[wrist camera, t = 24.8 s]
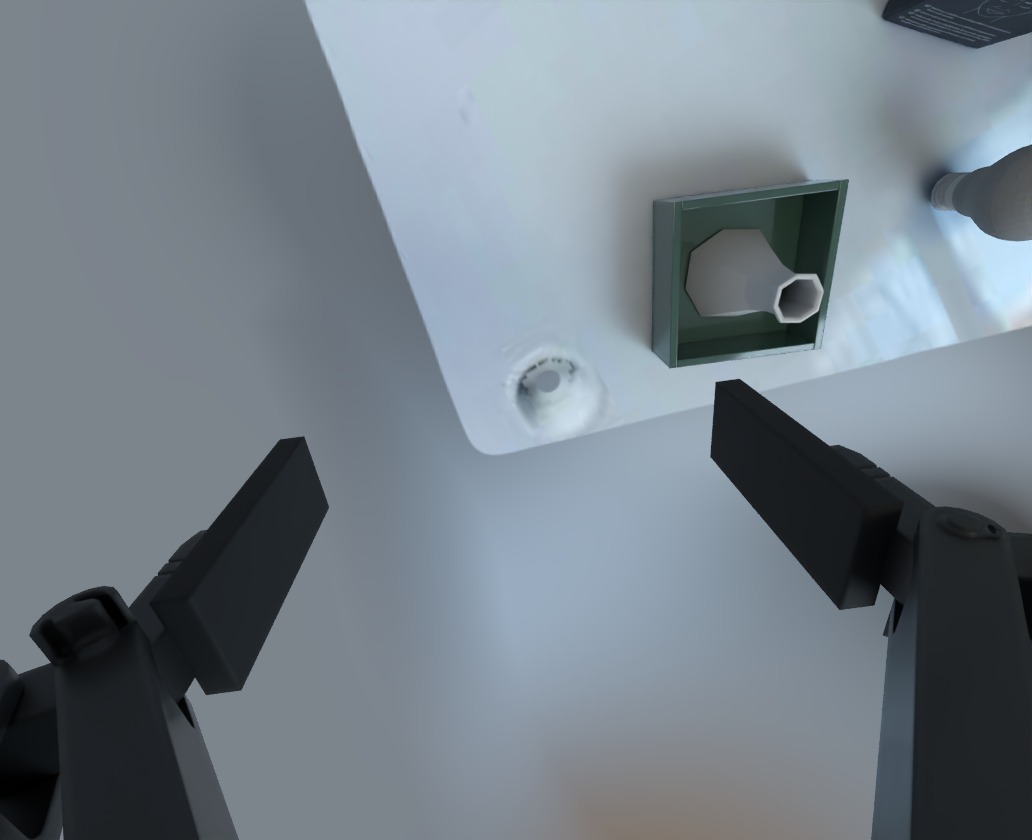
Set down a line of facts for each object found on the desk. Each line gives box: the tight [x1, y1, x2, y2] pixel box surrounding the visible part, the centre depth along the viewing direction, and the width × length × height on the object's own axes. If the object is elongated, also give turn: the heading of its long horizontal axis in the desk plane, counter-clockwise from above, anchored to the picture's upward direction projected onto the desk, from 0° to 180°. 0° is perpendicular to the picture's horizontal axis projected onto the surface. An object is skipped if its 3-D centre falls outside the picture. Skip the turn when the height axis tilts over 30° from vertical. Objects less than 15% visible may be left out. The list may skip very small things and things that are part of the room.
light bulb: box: [931, 145, 1032, 241], centre depth 34 cm, size 6×6×10 cm
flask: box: [685, 229, 824, 323], centre depth 35 cm, size 7×7×10 cm
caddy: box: [652, 179, 849, 368], centre depth 38 cm, size 12×12×4 cm
